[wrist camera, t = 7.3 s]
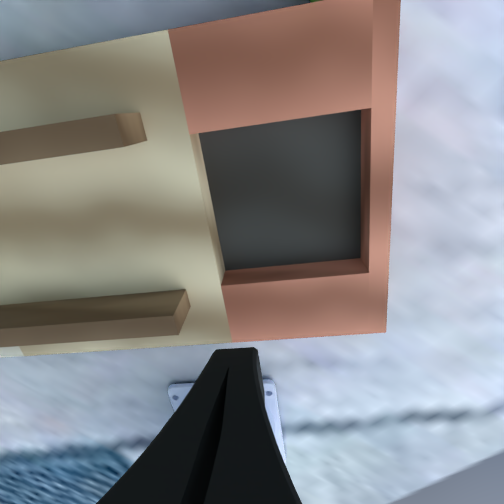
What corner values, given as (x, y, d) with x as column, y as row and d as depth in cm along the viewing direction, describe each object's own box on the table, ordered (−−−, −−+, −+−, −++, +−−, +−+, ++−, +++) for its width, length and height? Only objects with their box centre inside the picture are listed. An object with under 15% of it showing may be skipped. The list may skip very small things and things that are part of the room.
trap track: (375, 311, 20) (401, 364, 16) (-54, 343, 24) (-122, 392, 20) (384, 1, 13) (431, -44, 9) (-211, 110, 17) (-363, 112, 13)
